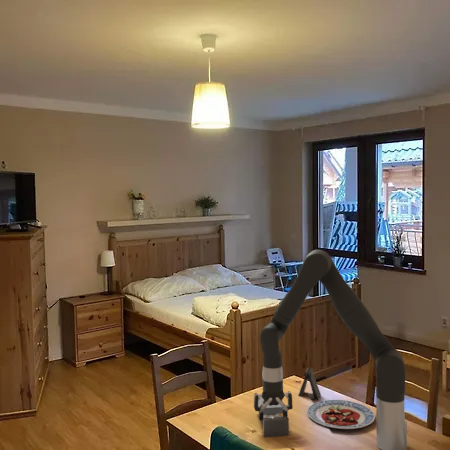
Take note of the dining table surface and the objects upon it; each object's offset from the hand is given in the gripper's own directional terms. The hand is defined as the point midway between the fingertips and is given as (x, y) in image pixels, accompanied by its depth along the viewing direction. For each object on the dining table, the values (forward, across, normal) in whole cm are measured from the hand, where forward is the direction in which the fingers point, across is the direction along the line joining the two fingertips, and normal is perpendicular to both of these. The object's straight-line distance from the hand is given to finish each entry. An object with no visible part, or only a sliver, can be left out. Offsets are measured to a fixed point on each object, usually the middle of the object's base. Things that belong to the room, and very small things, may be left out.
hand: (273, 420), depth 184 cm
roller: (+3, 0, 0) cm, 3 cm away
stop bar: (+4, 0, -5) cm, 6 cm away
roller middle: (+3, 0, +6) cm, 7 cm away
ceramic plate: (+5, +28, +8) cm, 29 cm away
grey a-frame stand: (+4, +21, +30) cm, 37 cm away
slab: (-1, 0, +10) cm, 10 cm away
